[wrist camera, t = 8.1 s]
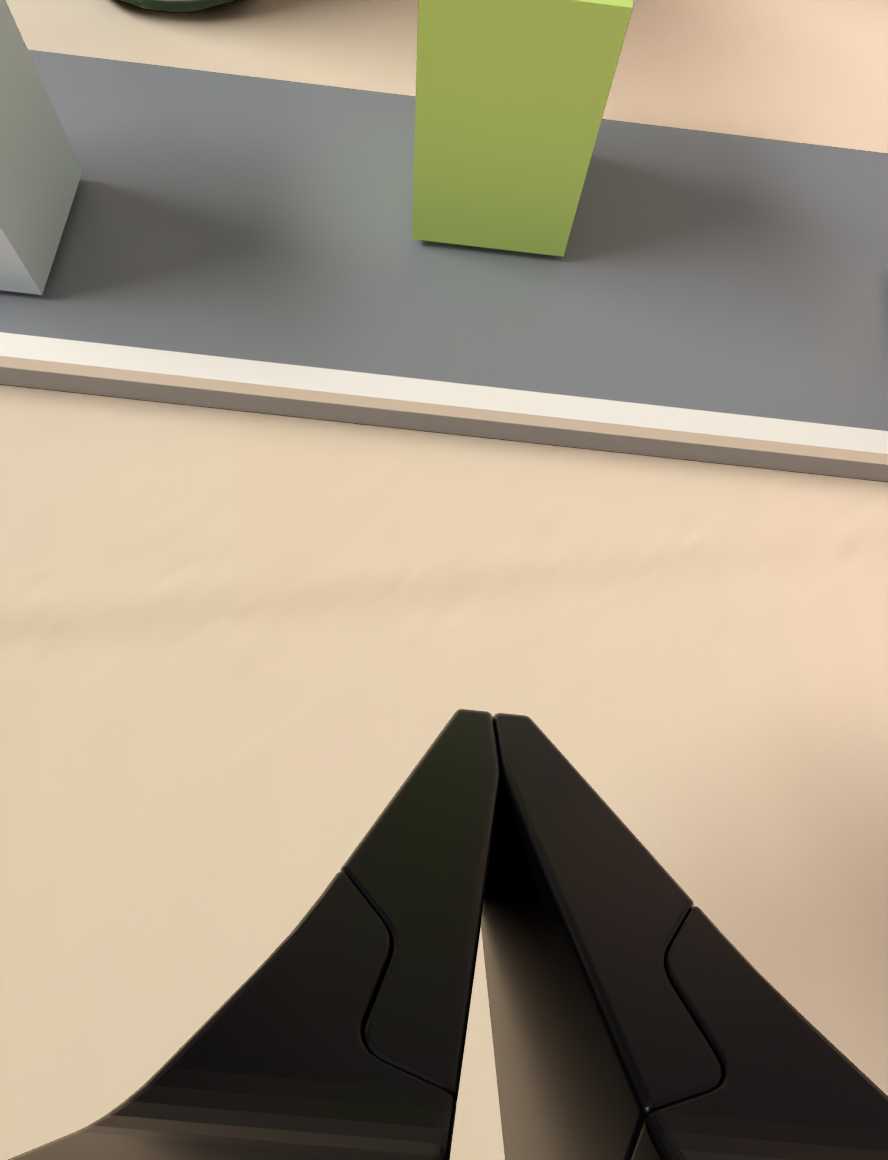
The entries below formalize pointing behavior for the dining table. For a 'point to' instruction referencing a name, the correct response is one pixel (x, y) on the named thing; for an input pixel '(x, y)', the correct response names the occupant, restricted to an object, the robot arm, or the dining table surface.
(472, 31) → the green block
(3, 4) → the blue-grey block
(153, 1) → the coffee jar
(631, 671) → the dining table surface
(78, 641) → the dining table surface
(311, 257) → the slate board
